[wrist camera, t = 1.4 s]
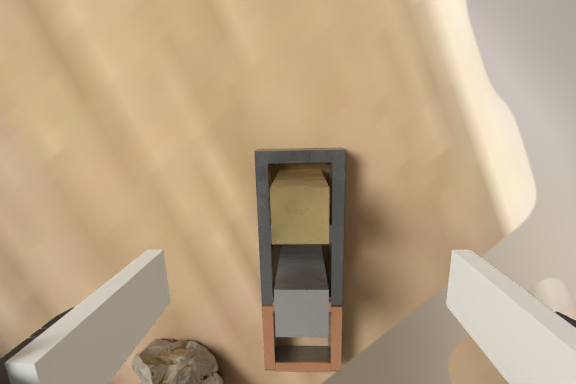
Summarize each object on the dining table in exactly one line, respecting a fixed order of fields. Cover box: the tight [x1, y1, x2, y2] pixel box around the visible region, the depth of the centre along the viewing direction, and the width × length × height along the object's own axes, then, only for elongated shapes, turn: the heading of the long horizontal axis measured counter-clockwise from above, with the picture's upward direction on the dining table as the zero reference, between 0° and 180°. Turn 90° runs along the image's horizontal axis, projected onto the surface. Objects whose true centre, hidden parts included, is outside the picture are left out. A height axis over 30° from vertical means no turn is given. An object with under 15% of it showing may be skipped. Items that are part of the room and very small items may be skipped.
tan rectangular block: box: [270, 169, 329, 244], centre depth 27 cm, size 4×4×10 cm
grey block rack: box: [255, 148, 346, 372], centre depth 32 cm, size 9×26×3 cm, turn 1°
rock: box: [132, 339, 224, 384], centre depth 34 cm, size 12×7×10 cm, turn 30°
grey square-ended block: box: [274, 244, 329, 338], centre depth 29 cm, size 4×4×10 cm
